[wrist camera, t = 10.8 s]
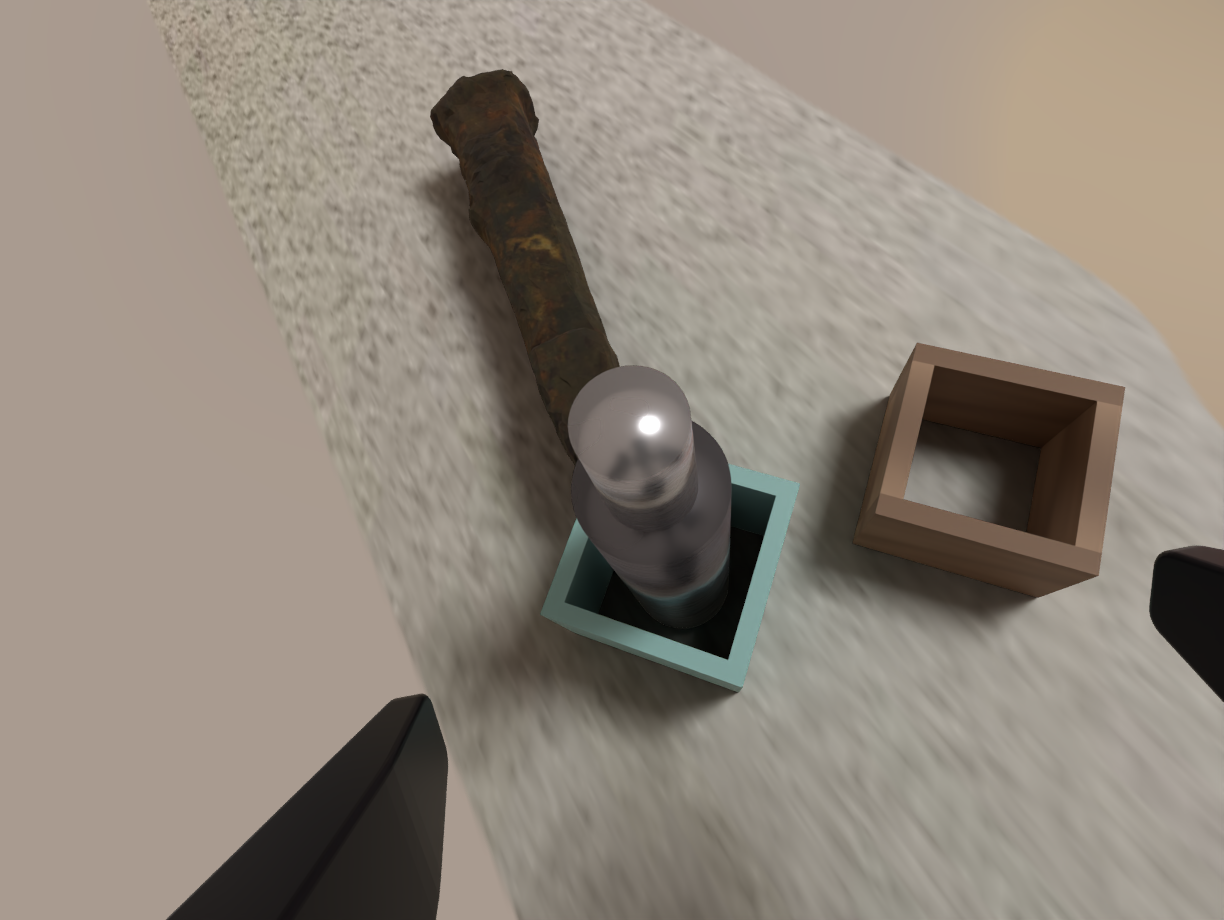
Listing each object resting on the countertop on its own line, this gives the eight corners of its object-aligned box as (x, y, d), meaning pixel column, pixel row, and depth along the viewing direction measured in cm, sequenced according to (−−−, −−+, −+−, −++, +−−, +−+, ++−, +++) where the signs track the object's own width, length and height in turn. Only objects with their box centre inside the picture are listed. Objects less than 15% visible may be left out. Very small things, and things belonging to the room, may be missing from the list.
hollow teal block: (738, 692, 20) (742, 687, 16) (575, 633, 22) (539, 614, 18) (785, 527, 22) (800, 483, 18) (630, 481, 23) (609, 431, 19)
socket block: (1037, 597, 20) (1098, 576, 17) (852, 543, 21) (875, 513, 18) (1064, 435, 22) (1124, 387, 18) (889, 394, 23) (916, 342, 20)
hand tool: (456, 164, 29) (409, 71, 25) (542, 133, 29) (509, 33, 25) (565, 575, 22) (525, 543, 18) (679, 537, 22) (667, 496, 18)
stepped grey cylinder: (738, 618, 21) (756, 496, 9) (644, 636, 21) (542, 540, 9) (717, 527, 22) (707, 310, 10) (628, 545, 22) (517, 355, 10)
